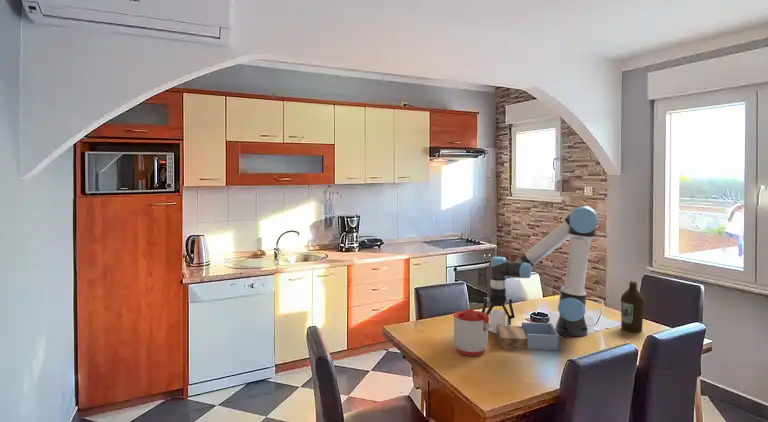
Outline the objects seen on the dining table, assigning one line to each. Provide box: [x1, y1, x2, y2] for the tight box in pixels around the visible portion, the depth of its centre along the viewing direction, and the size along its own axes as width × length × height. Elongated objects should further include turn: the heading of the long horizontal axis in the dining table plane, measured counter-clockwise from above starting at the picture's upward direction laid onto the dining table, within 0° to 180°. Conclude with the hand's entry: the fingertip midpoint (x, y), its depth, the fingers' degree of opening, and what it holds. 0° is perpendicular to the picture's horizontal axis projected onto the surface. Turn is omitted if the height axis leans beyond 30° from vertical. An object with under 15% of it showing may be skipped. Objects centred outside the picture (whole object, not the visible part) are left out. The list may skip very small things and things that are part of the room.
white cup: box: [489, 309, 507, 334], centre depth 240 cm, size 8×8×10 cm
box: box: [521, 321, 561, 352], centre depth 223 cm, size 14×18×7 cm
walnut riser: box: [496, 325, 528, 351], centre depth 225 cm, size 12×18×5 cm, turn 172°
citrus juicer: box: [453, 308, 492, 357], centre depth 212 cm, size 16×17×20 cm
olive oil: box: [620, 280, 645, 333], centre depth 241 cm, size 11×11×25 cm
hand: (497, 330), depth 241 cm, fingers open, 9 cm apart
